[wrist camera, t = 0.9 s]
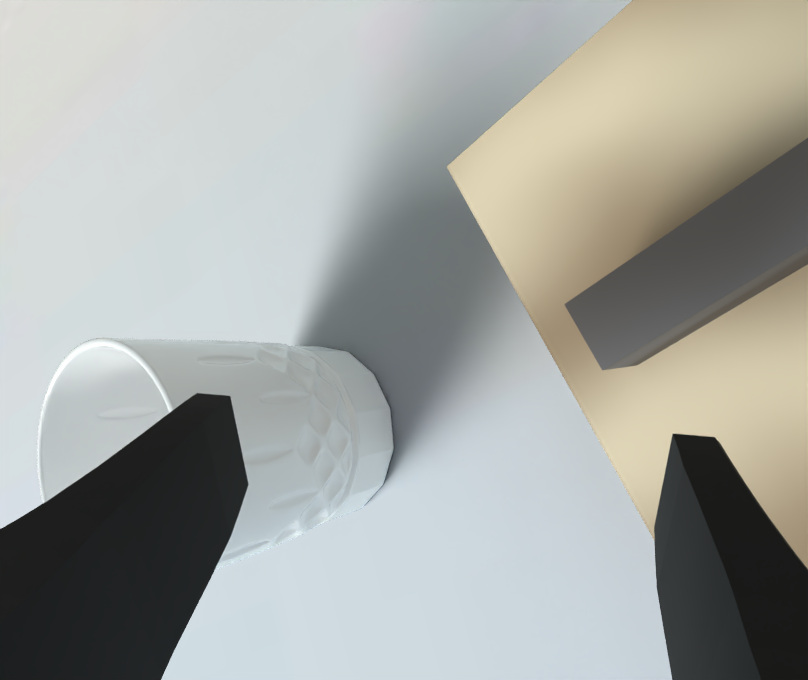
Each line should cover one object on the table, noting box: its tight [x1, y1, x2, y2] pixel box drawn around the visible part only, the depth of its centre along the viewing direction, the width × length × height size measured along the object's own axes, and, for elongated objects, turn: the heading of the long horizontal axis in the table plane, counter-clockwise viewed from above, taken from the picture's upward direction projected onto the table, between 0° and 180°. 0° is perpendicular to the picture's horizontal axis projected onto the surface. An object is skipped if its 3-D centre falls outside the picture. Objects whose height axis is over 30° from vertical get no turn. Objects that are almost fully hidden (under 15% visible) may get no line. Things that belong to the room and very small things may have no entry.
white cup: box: [37, 338, 394, 570], centre depth 27 cm, size 8×8×10 cm
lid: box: [447, 0, 808, 569], centre depth 15 cm, size 12×9×3 cm
